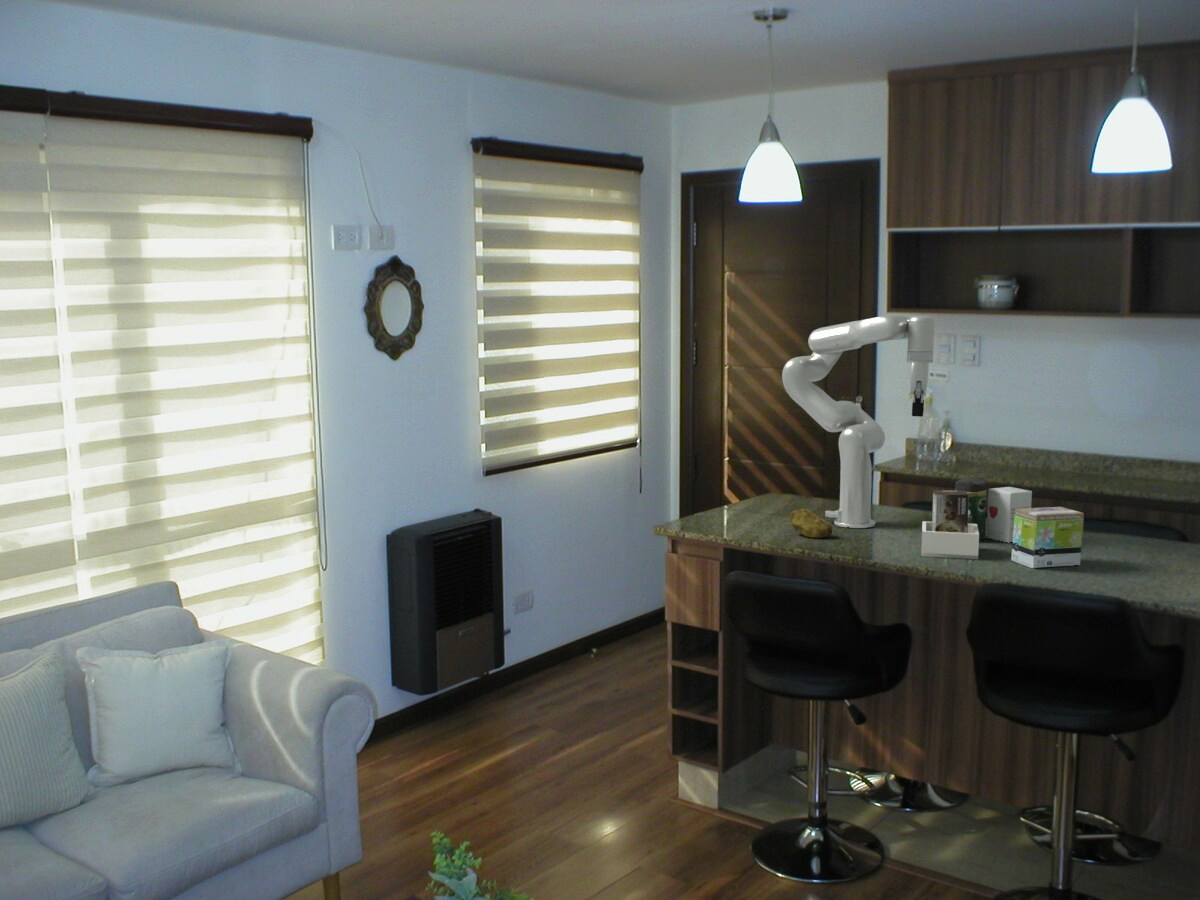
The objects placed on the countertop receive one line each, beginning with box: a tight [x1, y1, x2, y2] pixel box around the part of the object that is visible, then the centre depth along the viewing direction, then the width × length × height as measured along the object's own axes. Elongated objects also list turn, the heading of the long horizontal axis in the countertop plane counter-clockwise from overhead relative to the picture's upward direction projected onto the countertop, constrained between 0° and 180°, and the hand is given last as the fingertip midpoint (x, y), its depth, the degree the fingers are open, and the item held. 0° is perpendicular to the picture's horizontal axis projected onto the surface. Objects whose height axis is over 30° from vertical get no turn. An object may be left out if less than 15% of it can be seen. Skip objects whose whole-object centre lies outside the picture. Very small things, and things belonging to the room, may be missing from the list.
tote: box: [920, 520, 980, 560], centre depth 330 cm, size 15×15×7 cm
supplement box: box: [985, 486, 1033, 544], centre depth 346 cm, size 9×9×15 cm
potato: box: [788, 508, 833, 539], centre depth 351 cm, size 8×13×8 cm, turn 39°
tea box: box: [1010, 506, 1085, 569], centre depth 315 cm, size 15×10×15 cm
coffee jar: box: [954, 476, 988, 541], centre depth 346 cm, size 10×8×19 cm
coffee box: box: [931, 489, 969, 533], centre depth 329 cm, size 9×6×16 cm
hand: (917, 414), depth 351 cm, fingers open, 9 cm apart
